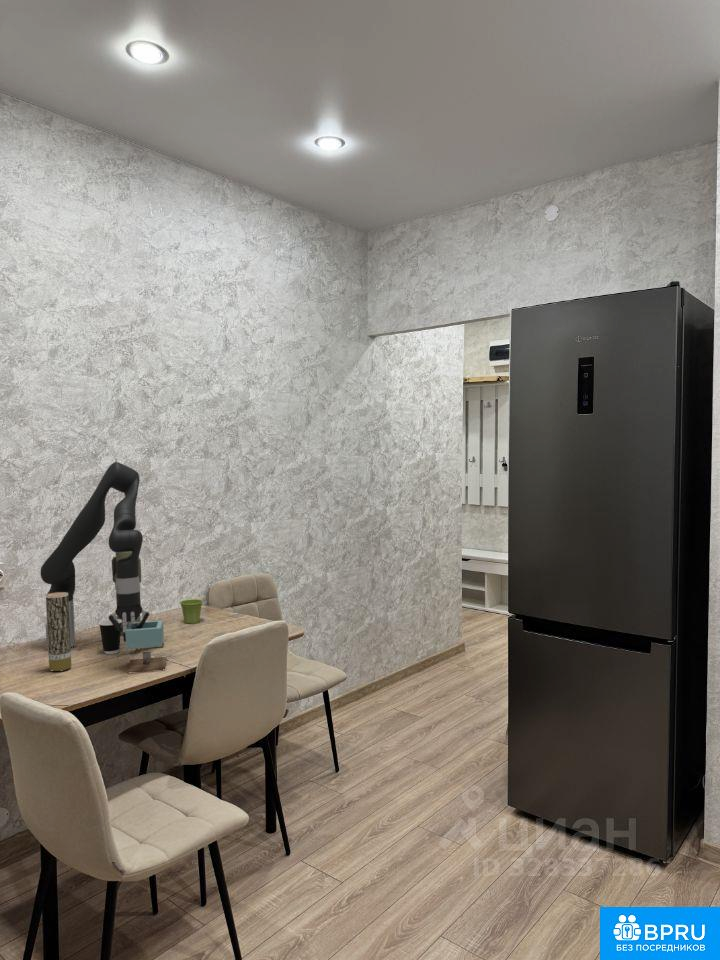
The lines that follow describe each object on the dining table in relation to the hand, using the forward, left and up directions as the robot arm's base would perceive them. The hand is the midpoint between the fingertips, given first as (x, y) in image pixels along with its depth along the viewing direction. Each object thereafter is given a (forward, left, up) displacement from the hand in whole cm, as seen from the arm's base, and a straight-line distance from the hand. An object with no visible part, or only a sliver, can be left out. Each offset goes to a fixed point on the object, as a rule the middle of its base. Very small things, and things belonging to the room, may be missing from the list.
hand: (130, 642), depth 232 cm
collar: (+5, 0, -1) cm, 5 cm away
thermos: (-6, +47, -9) cm, 48 cm away
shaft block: (+5, 0, -8) cm, 10 cm away
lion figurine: (+3, +20, -9) cm, 22 cm away
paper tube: (-23, +5, -9) cm, 25 cm away
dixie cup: (-9, +21, -9) cm, 24 cm away
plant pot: (+18, +57, -9) cm, 60 cm away
